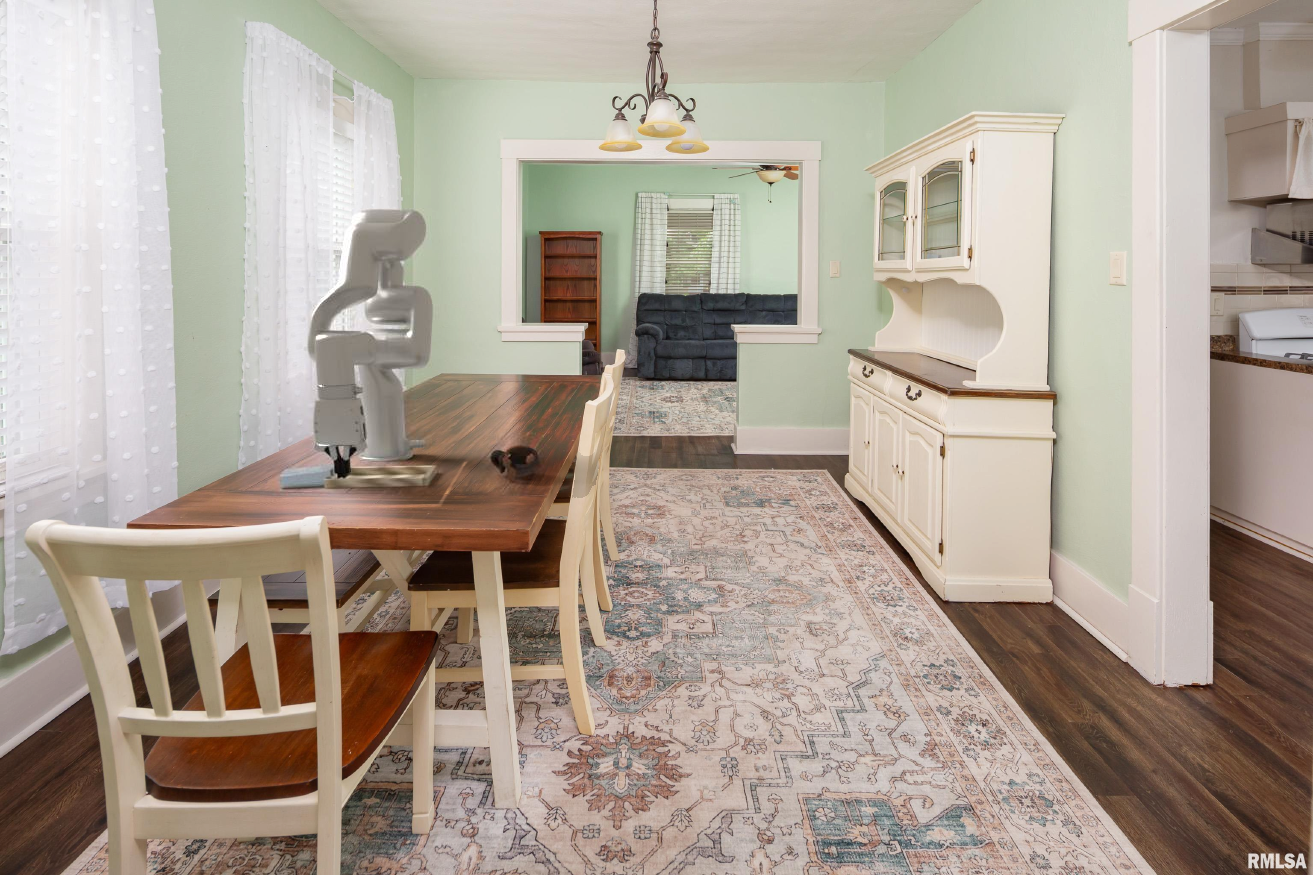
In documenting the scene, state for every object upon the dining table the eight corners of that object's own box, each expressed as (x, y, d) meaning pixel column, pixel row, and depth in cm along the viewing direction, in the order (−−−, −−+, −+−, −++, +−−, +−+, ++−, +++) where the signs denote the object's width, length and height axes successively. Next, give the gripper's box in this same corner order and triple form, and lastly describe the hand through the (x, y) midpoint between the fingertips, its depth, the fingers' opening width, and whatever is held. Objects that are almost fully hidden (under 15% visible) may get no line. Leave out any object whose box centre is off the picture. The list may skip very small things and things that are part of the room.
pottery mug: (545, 474, 187) (548, 448, 182) (530, 501, 180) (532, 474, 174) (496, 459, 188) (497, 432, 183) (479, 485, 181) (480, 458, 176)
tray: (436, 475, 183) (436, 465, 183) (427, 488, 172) (426, 478, 171) (340, 476, 181) (340, 467, 181) (324, 490, 170) (323, 480, 169)
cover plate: (336, 477, 178) (334, 463, 178) (332, 484, 172) (330, 471, 171) (287, 482, 176) (285, 469, 175) (281, 490, 169) (279, 476, 169)
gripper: (377, 390, 176) (382, 472, 180) (306, 390, 175) (312, 473, 178) (369, 394, 169) (374, 480, 173) (294, 395, 168) (301, 481, 171)
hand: (343, 476), depth 175 cm, fingers closed
